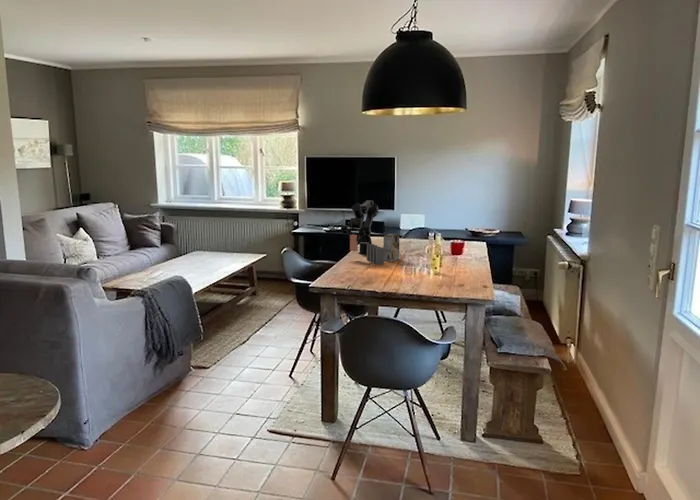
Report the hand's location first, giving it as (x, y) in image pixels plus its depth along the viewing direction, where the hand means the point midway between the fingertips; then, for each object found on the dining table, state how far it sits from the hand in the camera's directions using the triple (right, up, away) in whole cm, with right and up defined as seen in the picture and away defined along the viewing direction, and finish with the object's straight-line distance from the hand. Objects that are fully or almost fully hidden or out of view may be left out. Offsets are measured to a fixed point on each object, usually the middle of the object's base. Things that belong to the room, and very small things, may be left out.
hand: (353, 240), depth 336 cm
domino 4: (+16, -14, -10) cm, 24 cm away
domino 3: (+14, -14, -6) cm, 21 cm away
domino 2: (+13, -13, -2) cm, 18 cm away
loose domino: (0, -6, +2) cm, 7 cm away
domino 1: (+11, -12, +2) cm, 17 cm away
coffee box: (+24, -12, +3) cm, 27 cm away
